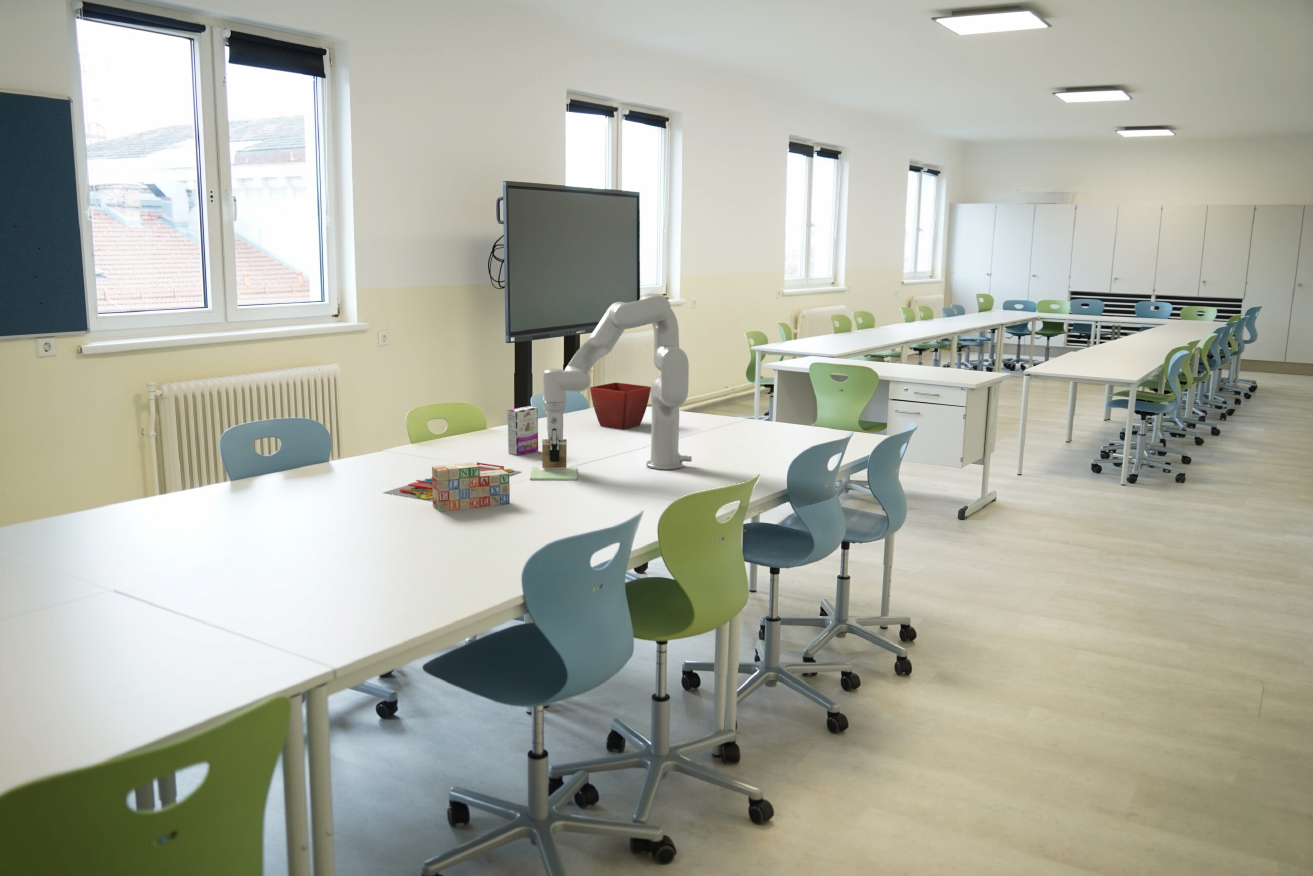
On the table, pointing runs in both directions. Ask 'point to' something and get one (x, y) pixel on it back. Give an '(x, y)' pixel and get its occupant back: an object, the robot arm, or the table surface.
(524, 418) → the candy bar box
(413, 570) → the table surface
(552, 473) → the green mat
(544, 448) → the walnut slab
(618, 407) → the plant pot
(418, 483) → the gear board
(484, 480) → the stack of blocks
